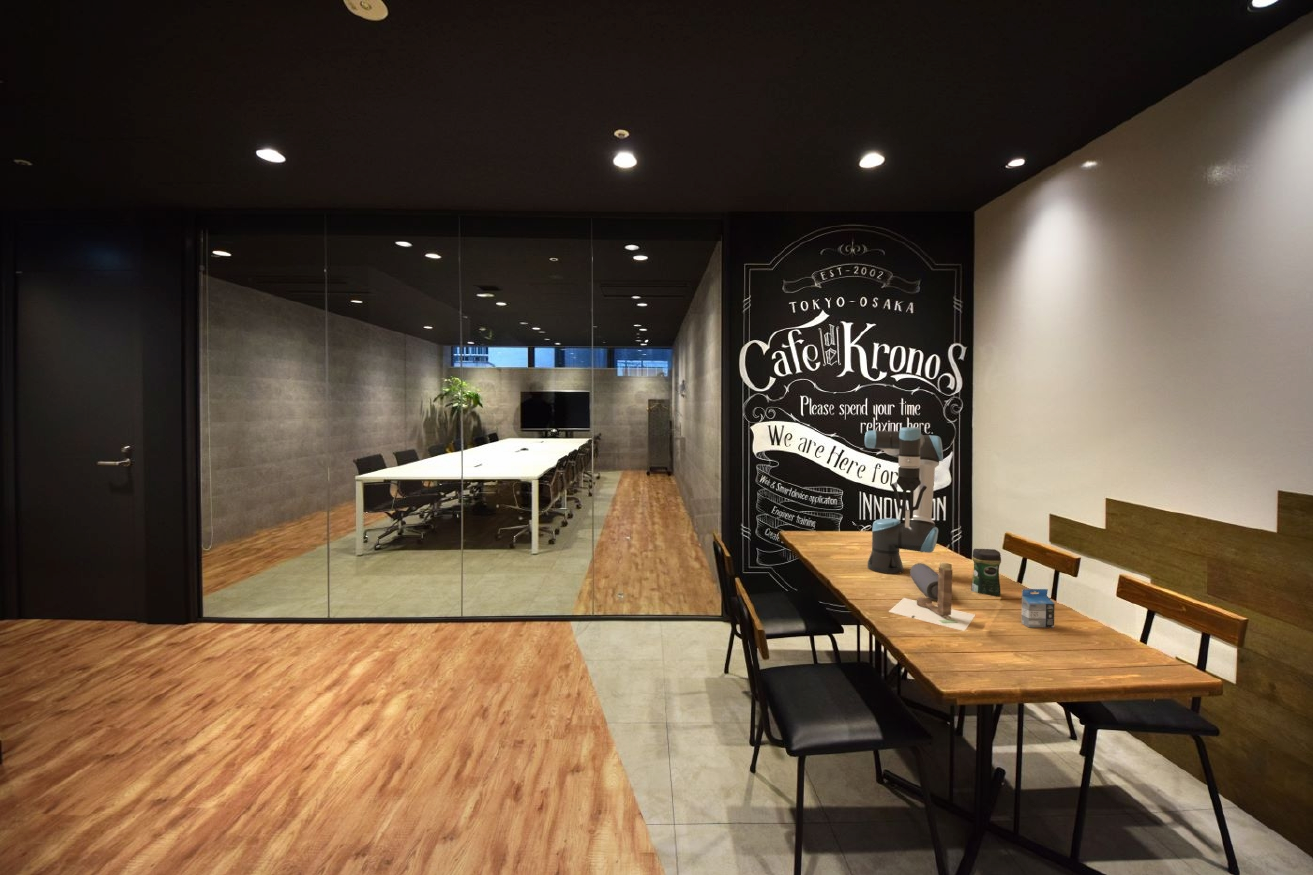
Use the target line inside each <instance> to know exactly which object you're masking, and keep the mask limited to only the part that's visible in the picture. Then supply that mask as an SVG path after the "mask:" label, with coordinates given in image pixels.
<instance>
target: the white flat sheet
mask: <svg viewBox="0 0 1313 875" xmlns="http://www.w3.org/2000/svg"><path fill="white" fill-rule="evenodd" d="M934 605H935V606H936V607H937V604H934ZM888 613H891V614H895V615H900V616H903V617H907V618H911V619H916V620H919V621H922V622H927V623H931V624H935V625H939V626H942V627H946V628H948V629H949V628H950V629H954V630H958V631H962V632H965V631H966V630H967V628H968V627H969V625H970V624H971V623H972V621H973V619H974V618H975V617H976V614H975V613H969V612H965V611H961V610H957V609H953V608H951V615H949V616H950V617H951V619H948V618H947V617H946V616H941V615H939V614H937V613H936V612H934V611H933V610H931V609H929V608H926V607H921V606H918V605H917V600H915V599H910V598H905V597H903V598H902V599H901V600H900V601H899V602H897V603H896V604H895V605H894V606H893V607H892V608H891V609H889V610H888Z"/></svg>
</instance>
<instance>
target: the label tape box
mask: <svg viewBox="0 0 1313 875" xmlns="http://www.w3.org/2000/svg"><path fill="white" fill-rule="evenodd" d="M1048 591H1049V589H1048V588H1022V591H1021V592H1022V593H1021V594H1022V595H1021V621H1020V622H1021V624H1022V625H1024V626H1025V627H1027V628H1055V607H1056V604H1055V602H1053V600H1051V598H1050V597H1049V596H1048Z"/></svg>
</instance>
